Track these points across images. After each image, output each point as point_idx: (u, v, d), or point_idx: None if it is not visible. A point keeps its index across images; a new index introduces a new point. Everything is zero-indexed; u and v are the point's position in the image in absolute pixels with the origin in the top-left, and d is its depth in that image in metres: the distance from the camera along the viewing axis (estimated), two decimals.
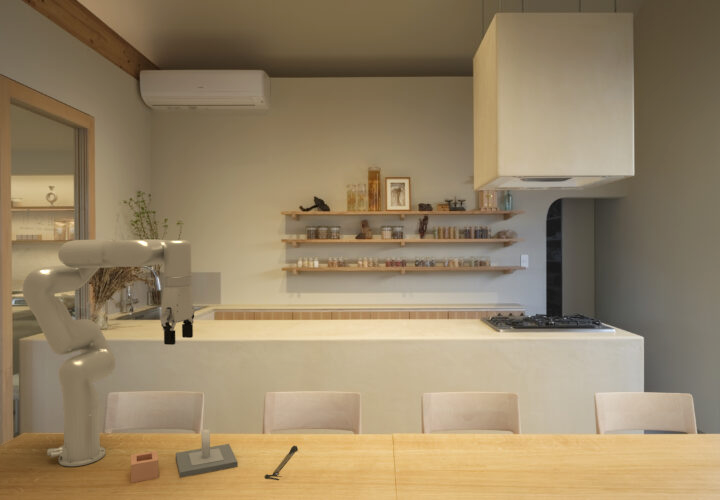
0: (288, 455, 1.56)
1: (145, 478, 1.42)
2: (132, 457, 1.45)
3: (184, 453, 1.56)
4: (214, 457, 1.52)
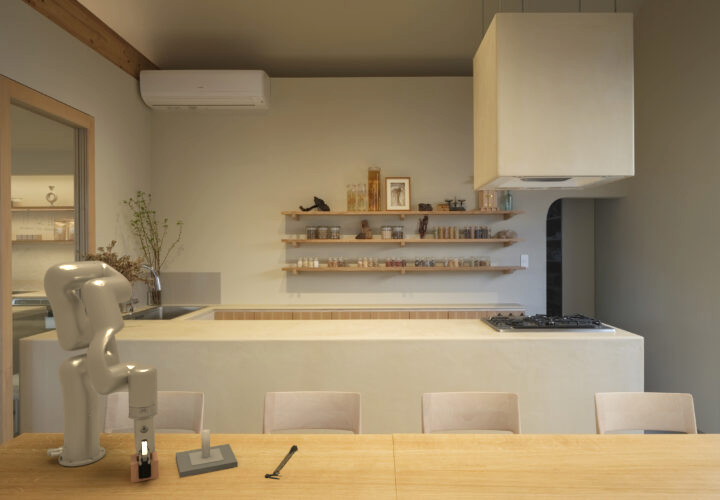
0: (288, 455, 1.57)
1: (145, 478, 1.42)
2: (132, 457, 1.45)
3: (184, 453, 1.56)
4: (214, 457, 1.52)
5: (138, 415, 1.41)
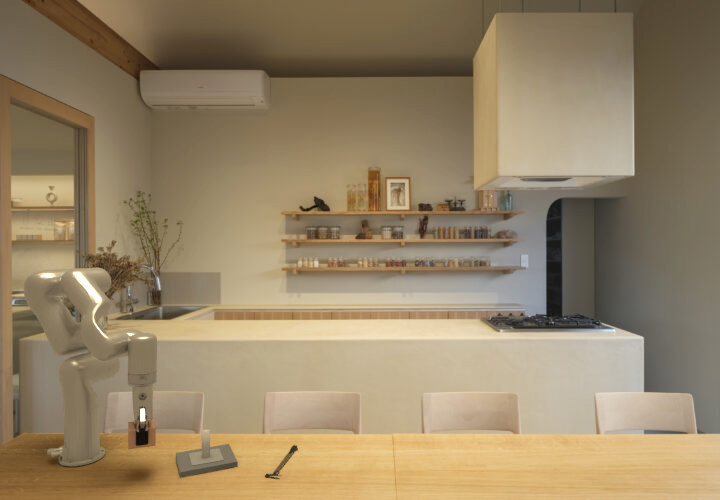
0: (288, 454, 1.57)
1: (142, 445, 1.42)
2: (130, 424, 1.45)
3: (184, 453, 1.56)
4: (214, 457, 1.52)
5: (137, 382, 1.41)
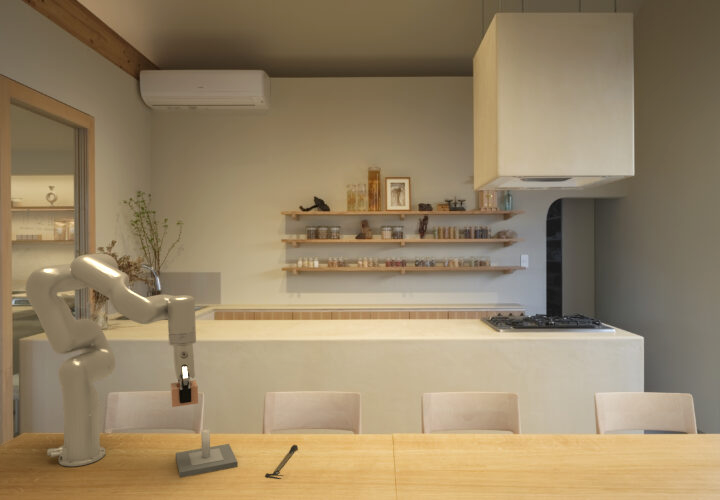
0: (288, 454, 1.57)
1: (185, 403, 1.46)
2: (172, 384, 1.49)
3: (184, 453, 1.56)
4: (214, 457, 1.52)
5: (178, 341, 1.45)
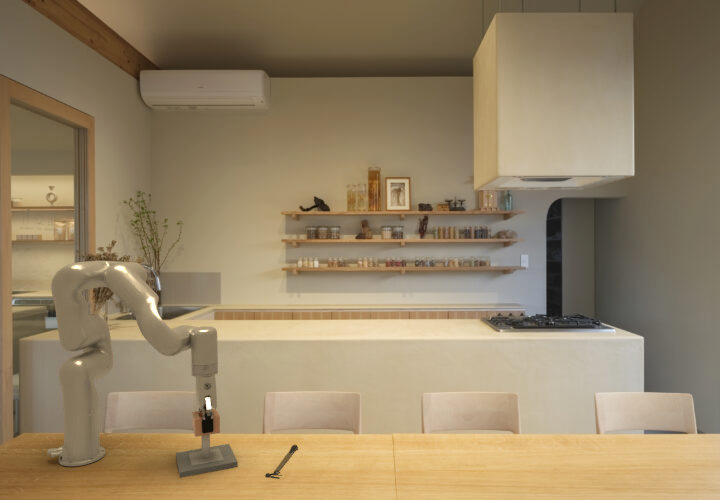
0: (288, 454, 1.57)
1: (208, 433, 1.50)
2: (194, 414, 1.53)
3: (184, 453, 1.56)
4: (214, 457, 1.52)
5: (201, 373, 1.48)
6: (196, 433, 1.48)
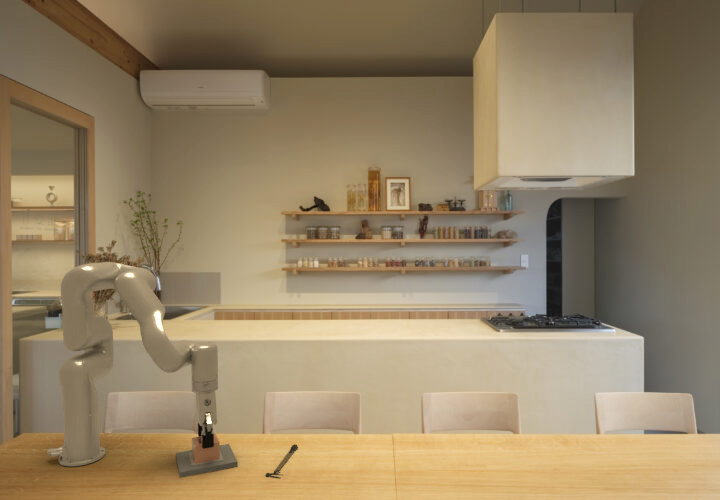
0: (288, 454, 1.57)
1: (207, 459, 1.50)
2: (194, 440, 1.53)
3: (184, 453, 1.56)
4: None
5: (201, 389, 1.49)
6: (196, 460, 1.48)
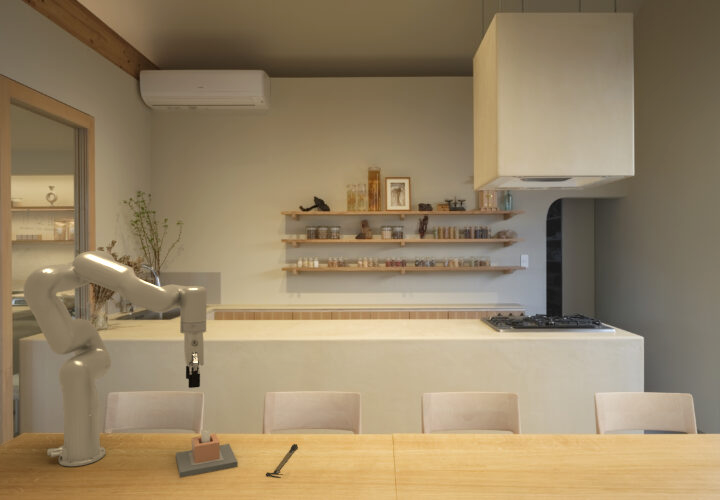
0: (288, 453, 1.57)
1: (207, 459, 1.50)
2: (194, 440, 1.53)
3: (184, 453, 1.56)
4: None
5: (189, 330, 1.51)
6: (196, 460, 1.48)
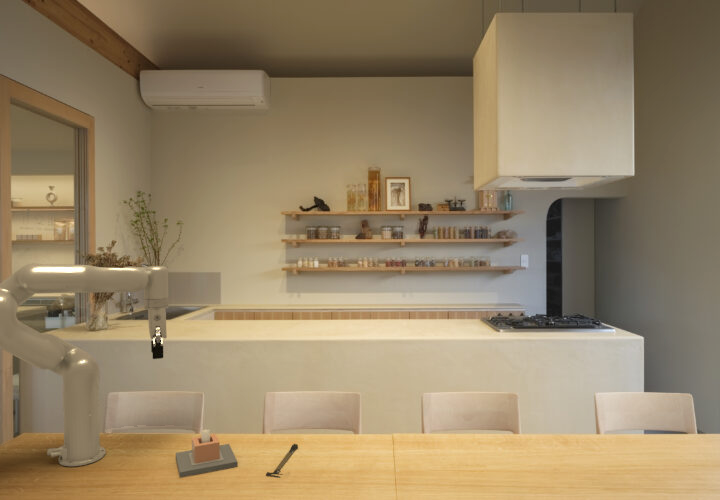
0: (289, 453, 1.58)
1: (207, 459, 1.50)
2: (194, 440, 1.53)
3: (184, 453, 1.56)
4: None
5: (152, 306, 1.65)
6: (196, 460, 1.48)
